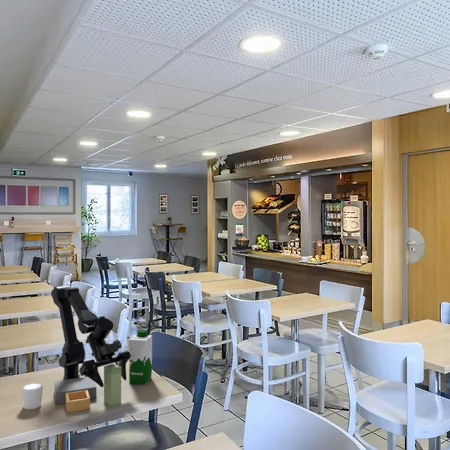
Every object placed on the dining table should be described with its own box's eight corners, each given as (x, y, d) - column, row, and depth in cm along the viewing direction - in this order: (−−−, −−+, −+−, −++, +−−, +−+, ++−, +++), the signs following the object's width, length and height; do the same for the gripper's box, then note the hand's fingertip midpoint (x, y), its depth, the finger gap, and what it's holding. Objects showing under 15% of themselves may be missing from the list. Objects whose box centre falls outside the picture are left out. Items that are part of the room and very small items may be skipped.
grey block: (54, 391, 163) (54, 381, 163) (92, 386, 169) (92, 376, 169) (56, 414, 145) (56, 402, 145) (99, 406, 150) (99, 395, 150)
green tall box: (104, 402, 154) (104, 366, 154) (113, 398, 157) (113, 363, 157) (111, 406, 151) (111, 369, 151) (121, 402, 154) (121, 366, 154)
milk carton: (154, 377, 179) (154, 329, 179) (147, 385, 170) (147, 335, 170) (133, 376, 180) (133, 329, 180) (126, 384, 171) (126, 334, 171)
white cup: (46, 401, 155) (46, 382, 155) (38, 409, 148) (38, 389, 148) (26, 401, 154) (26, 382, 154) (18, 410, 147) (18, 390, 147)
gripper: (82, 339, 150) (98, 378, 142) (128, 329, 163) (145, 365, 156) (72, 356, 156) (87, 395, 148) (117, 345, 169) (133, 380, 161)
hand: (114, 383), depth 153 cm, fingers open, 9 cm apart
